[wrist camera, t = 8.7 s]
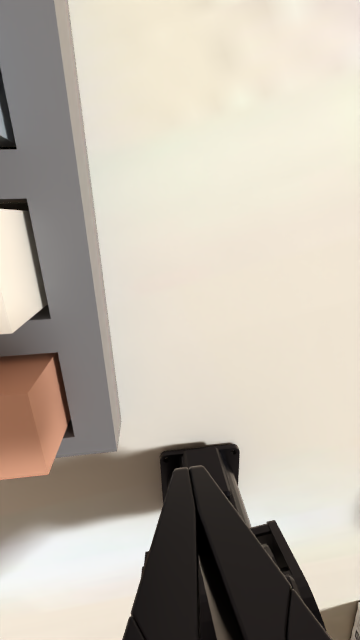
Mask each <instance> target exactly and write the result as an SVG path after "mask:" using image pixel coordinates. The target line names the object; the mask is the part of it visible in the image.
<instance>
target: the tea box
mask: <svg viewBox="0 0 360 640" xmlns="http://www.w3.org/2000/svg"><path fill="white" fill-rule="evenodd" d="M351 640H360V602H358V609H357V613H356V617H355V623H354V626H353V630H352V636H351Z"/></svg>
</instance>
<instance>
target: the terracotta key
mask: <svg viewBox="0 0 360 640" xmlns="http://www.w3.org/2000/svg"><path fill="white" fill-rule="evenodd" d="M70 418H71V416H70V411H69V406H68V401H67V396H66V391H65V386H64V381H63V376H62V371H61V366H60V361H59V356H58V352H56V353H42V354H29V355H15V356H2V357H0V480H4V479H13V478H22V477H31V476H40V475H48V474H49V472H50V469H51V467H52V464H53V462H54V459H55V457H56V454H57V451H58V449H59V446H60V444H61V441H62V439H63V436H64V434H65V431H66V429H67V426H68V424H69V421H70Z"/></svg>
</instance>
